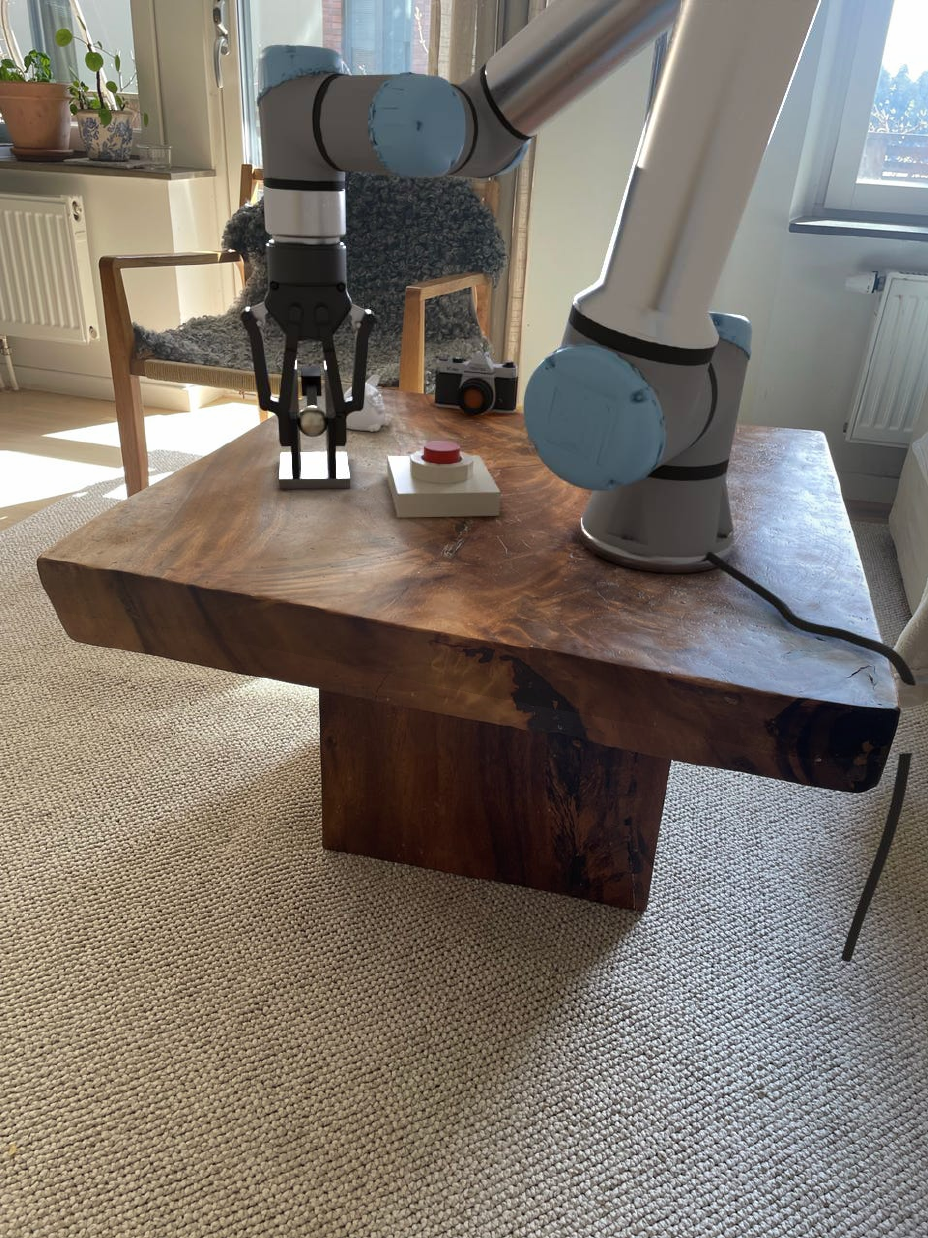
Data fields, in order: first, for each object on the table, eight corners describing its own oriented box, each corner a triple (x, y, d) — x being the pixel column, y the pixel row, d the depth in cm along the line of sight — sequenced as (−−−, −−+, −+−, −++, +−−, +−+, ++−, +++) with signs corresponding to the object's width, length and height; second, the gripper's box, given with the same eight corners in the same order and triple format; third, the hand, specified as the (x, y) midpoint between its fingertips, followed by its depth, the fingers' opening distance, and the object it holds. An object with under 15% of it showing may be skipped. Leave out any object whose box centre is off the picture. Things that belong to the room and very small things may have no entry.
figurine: (372, 436, 120) (372, 387, 117) (329, 429, 122) (328, 381, 119) (395, 421, 127) (395, 375, 124) (354, 416, 129) (354, 370, 126)
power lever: (328, 442, 93) (328, 414, 91) (297, 442, 92) (296, 414, 90) (325, 389, 103) (324, 362, 101) (297, 388, 102) (296, 362, 100)
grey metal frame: (350, 488, 102) (348, 375, 96) (279, 489, 100) (272, 374, 94) (346, 461, 110) (344, 355, 104) (281, 461, 109) (275, 355, 103)
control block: (499, 515, 96) (501, 475, 94) (397, 517, 94) (397, 476, 92) (478, 476, 107) (480, 440, 105) (387, 477, 105) (387, 440, 103)
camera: (424, 414, 132) (429, 352, 128) (434, 400, 139) (440, 342, 134) (510, 428, 131) (518, 366, 126) (516, 414, 138) (524, 355, 133)
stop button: (462, 466, 97) (462, 450, 96) (425, 466, 97) (426, 451, 96) (456, 455, 101) (457, 440, 100) (421, 455, 100) (422, 440, 99)
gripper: (388, 237, 89) (387, 463, 100) (221, 232, 86) (238, 464, 97) (395, 245, 83) (393, 485, 94) (214, 239, 80) (234, 487, 91)
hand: (314, 474), depth 95 cm, fingers closed on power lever, 3 cm apart
